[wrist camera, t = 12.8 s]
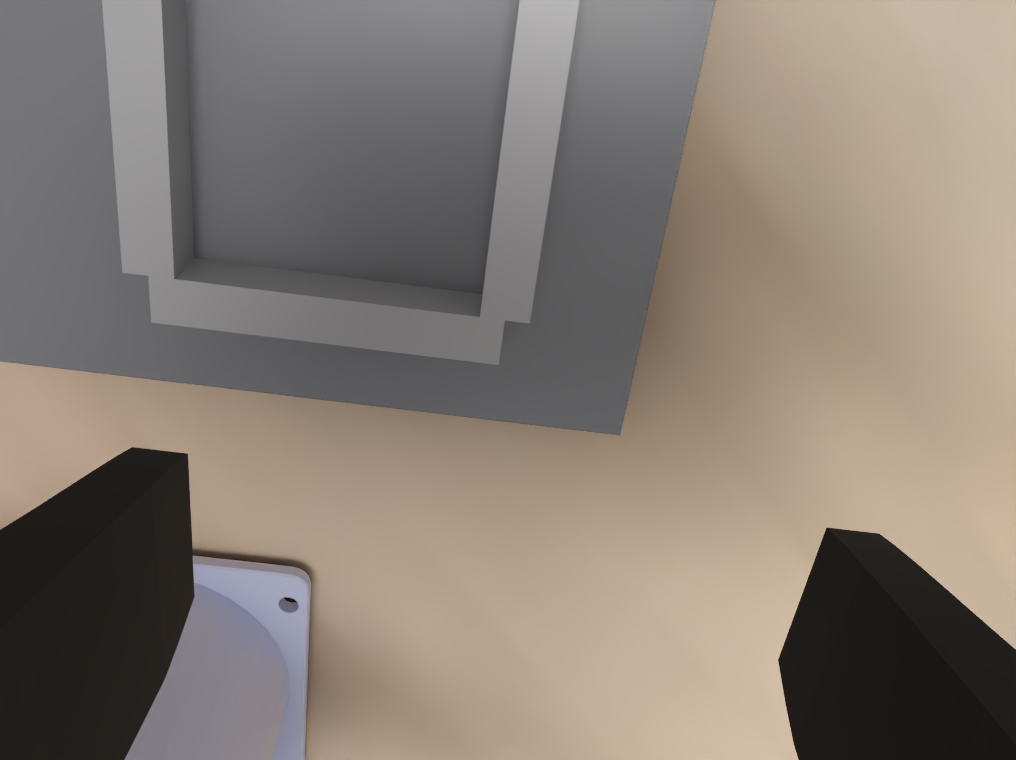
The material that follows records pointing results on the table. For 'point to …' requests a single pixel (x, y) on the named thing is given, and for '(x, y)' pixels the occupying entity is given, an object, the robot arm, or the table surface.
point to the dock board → (345, 195)
